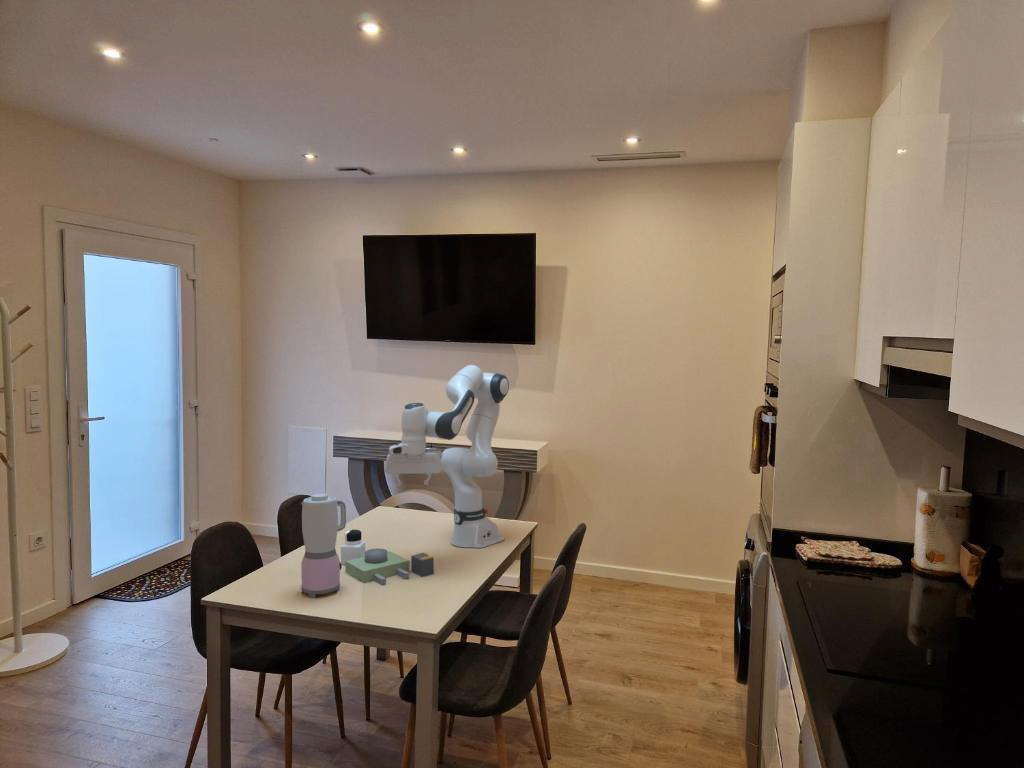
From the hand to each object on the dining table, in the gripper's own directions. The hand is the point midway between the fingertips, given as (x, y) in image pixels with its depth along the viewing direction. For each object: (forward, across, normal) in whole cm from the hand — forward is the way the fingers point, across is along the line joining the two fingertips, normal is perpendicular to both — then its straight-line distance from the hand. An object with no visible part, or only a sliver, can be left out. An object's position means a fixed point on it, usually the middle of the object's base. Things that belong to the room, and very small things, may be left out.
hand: (413, 485), depth 244 cm
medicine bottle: (+30, +21, -10) cm, 39 cm away
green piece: (+30, +11, +5) cm, 33 cm away
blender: (+31, +29, +17) cm, 46 cm away
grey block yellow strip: (+30, -3, +6) cm, 31 cm away
